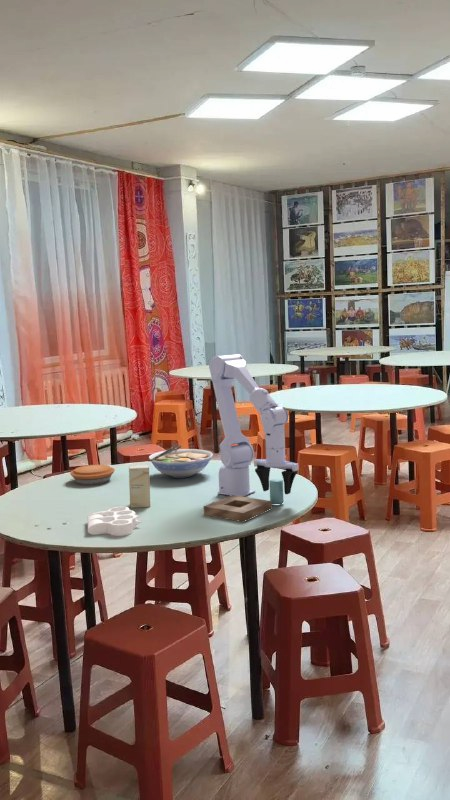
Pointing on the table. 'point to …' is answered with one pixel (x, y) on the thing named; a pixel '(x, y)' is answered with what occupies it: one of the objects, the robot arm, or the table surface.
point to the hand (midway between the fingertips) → (276, 492)
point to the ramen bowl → (180, 461)
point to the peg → (276, 491)
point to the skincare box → (139, 486)
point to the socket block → (237, 507)
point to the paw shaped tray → (113, 521)
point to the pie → (92, 474)
